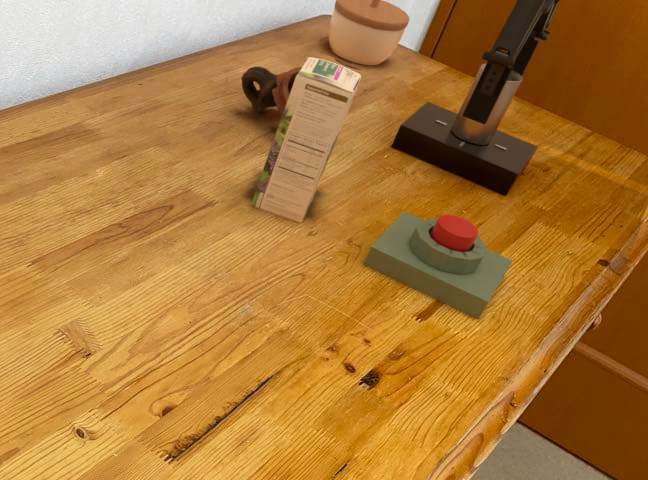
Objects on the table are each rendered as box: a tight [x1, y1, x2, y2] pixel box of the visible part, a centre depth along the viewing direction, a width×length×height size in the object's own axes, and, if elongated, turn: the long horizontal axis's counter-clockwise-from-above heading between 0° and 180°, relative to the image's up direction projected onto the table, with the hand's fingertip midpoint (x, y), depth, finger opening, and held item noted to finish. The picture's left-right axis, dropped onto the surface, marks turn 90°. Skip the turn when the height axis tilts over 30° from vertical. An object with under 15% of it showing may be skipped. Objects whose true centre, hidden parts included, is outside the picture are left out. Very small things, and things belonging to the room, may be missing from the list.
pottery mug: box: [241, 66, 303, 136], centre depth 103 cm, size 12×10×8 cm
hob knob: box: [451, 62, 523, 145], centre depth 103 cm, size 5×5×8 cm
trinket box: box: [328, 0, 410, 71], centre depth 123 cm, size 11×11×9 cm
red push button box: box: [363, 210, 514, 320], centre depth 84 cm, size 12×10×4 cm
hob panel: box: [391, 101, 539, 197], centre depth 107 cm, size 15×11×3 cm
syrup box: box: [250, 56, 363, 224], centre depth 85 cm, size 6×6×14 cm
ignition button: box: [430, 214, 479, 252], centre depth 83 cm, size 4×4×2 cm
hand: (488, 104), depth 103 cm, fingers open, 13 cm apart
